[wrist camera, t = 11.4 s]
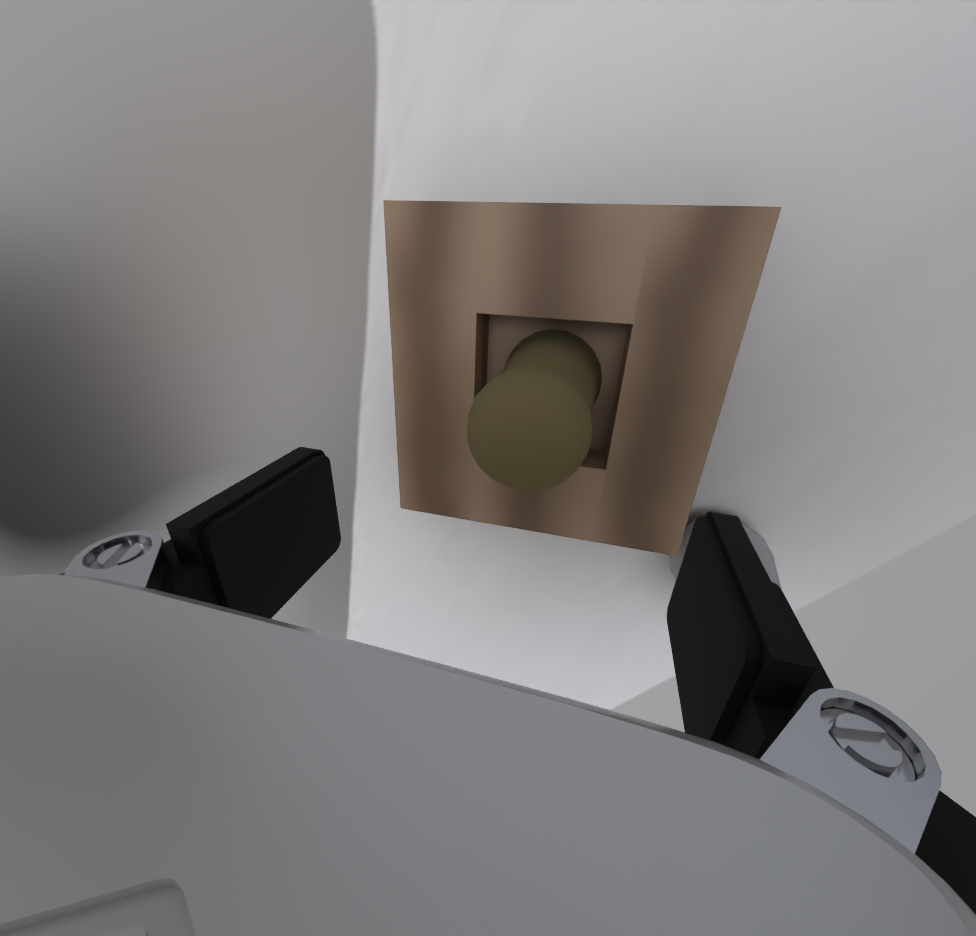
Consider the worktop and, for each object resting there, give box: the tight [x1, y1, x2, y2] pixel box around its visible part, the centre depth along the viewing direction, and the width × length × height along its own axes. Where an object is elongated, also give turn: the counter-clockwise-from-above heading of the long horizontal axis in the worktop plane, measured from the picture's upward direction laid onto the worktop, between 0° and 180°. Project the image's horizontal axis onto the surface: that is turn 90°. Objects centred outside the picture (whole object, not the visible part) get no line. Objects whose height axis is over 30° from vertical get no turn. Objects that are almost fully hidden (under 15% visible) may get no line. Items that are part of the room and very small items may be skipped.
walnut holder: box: [384, 200, 781, 556], centre depth 25 cm, size 18×18×4 cm
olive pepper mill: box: [467, 329, 602, 492], centre depth 21 cm, size 6×6×11 cm
